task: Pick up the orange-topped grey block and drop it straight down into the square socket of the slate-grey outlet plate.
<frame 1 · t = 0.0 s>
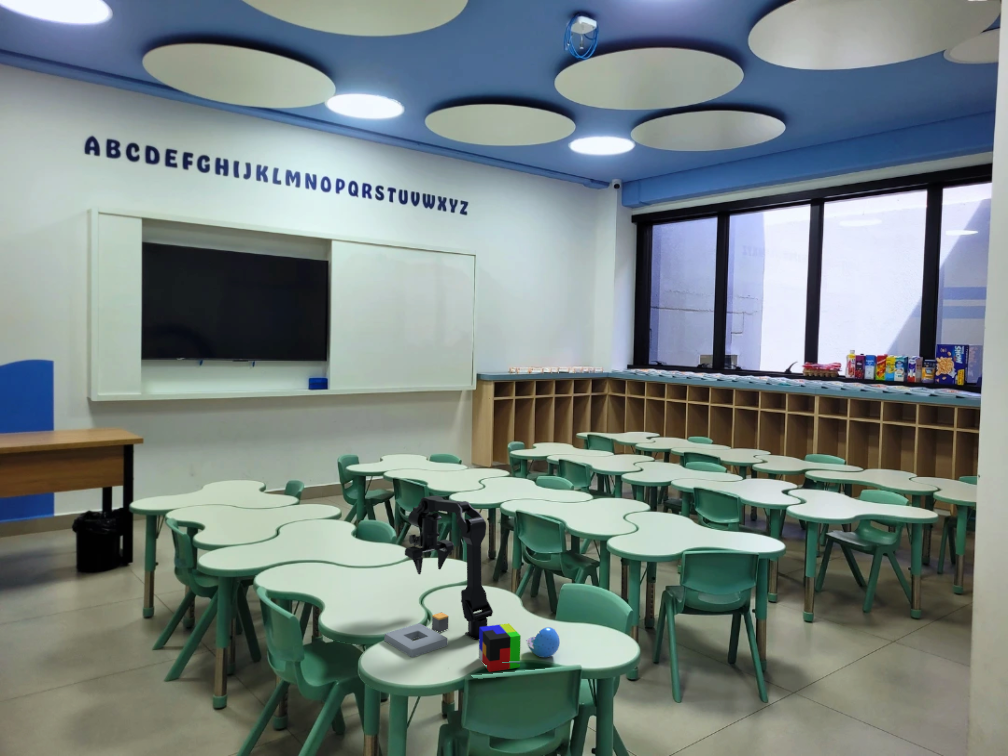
hand: (429, 571, 260), 15 cm above the table, tool pointing down, fingers open, 9 cm apart
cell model: (542, 656, 225), on the table
outlet plate: (415, 643, 232), on the table
puzzle toy: (499, 663, 219), on the table
orange-topped grey block: (440, 629, 244), on the table
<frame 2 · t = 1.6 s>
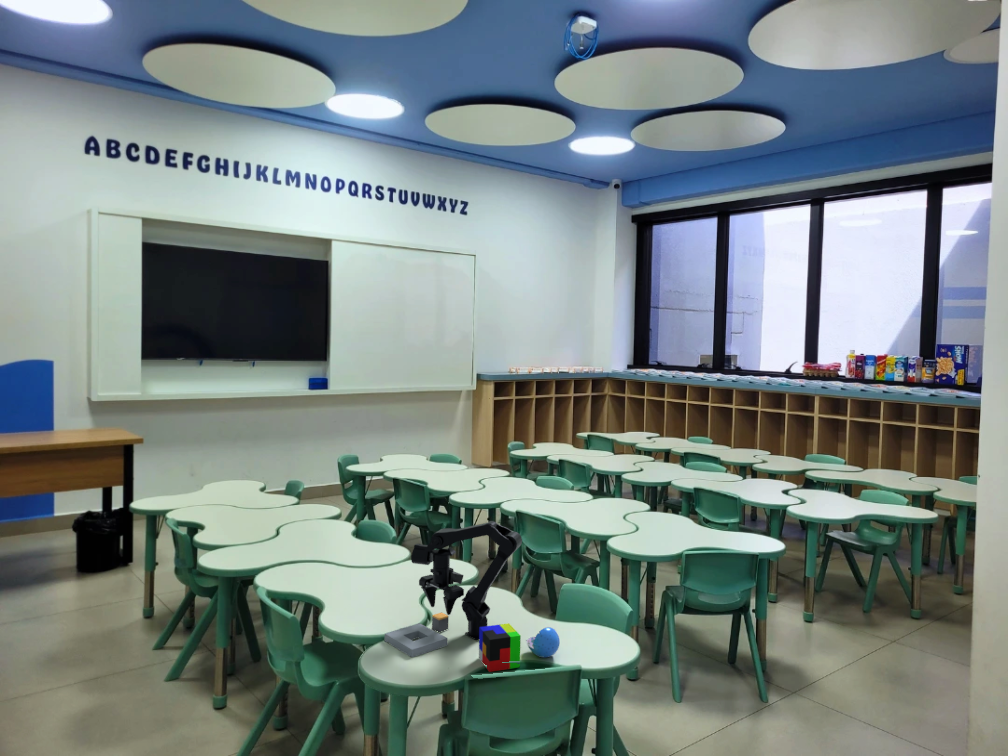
hand: (440, 610, 243), 7 cm above the table, tool pointing down, fingers open, 9 cm apart
nothing on the table moved.
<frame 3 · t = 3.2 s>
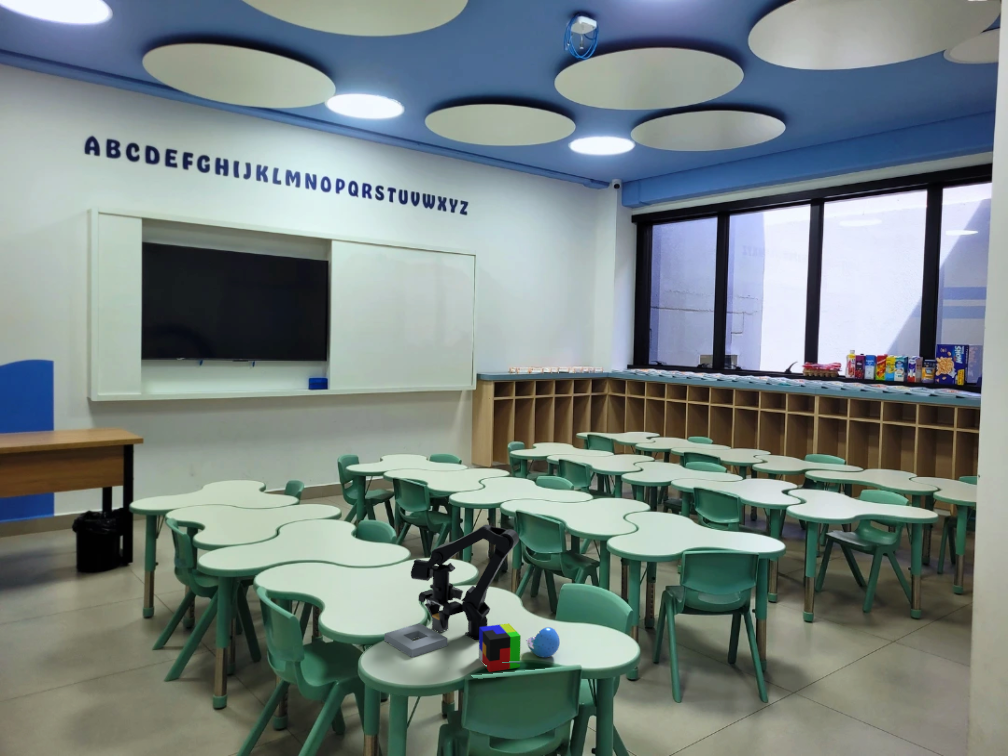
hand: (440, 626, 243), 1 cm above the table, tool pointing down, fingers closed on orange-topped grey block, 4 cm apart
orange-topped grey block: (440, 629, 244), on the table, touching gripper
everything else where it was.
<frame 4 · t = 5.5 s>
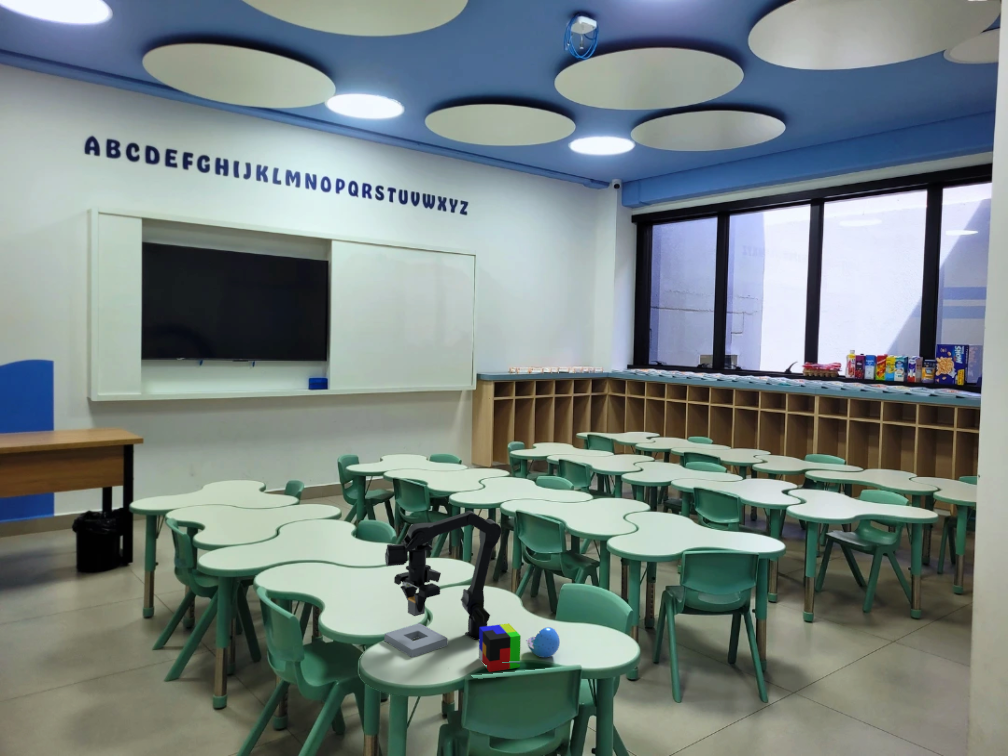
hand: (416, 610, 232), 11 cm above the table, tool pointing down, fingers closed on orange-topped grey block, 4 cm apart
orange-topped grey block: (416, 613, 232), point 10 cm above the table, touching gripper
everything else where it was.
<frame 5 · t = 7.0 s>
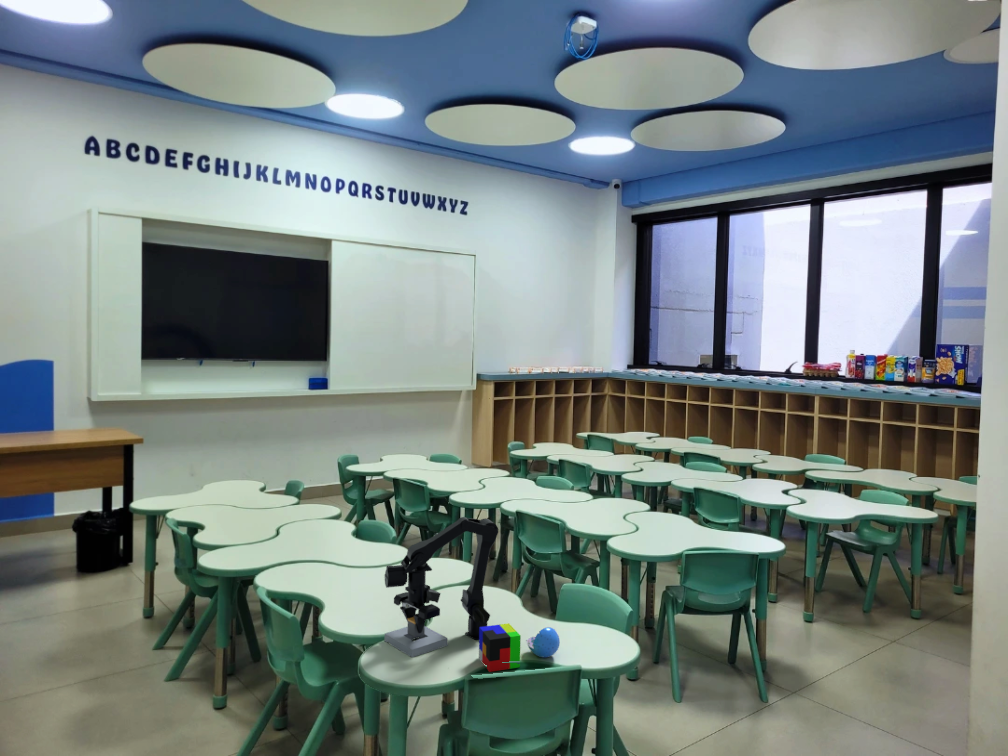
hand: (416, 630, 232), 4 cm above the table, tool pointing down, fingers closed on orange-topped grey block, 4 cm apart
orange-topped grey block: (416, 633, 232), point 3 cm above the table, touching gripper
everything else where it was.
when the fingers open (3 cm above the table, at t = 7.9 s): orange-topped grey block drops 3 cm, resting in outlet plate.
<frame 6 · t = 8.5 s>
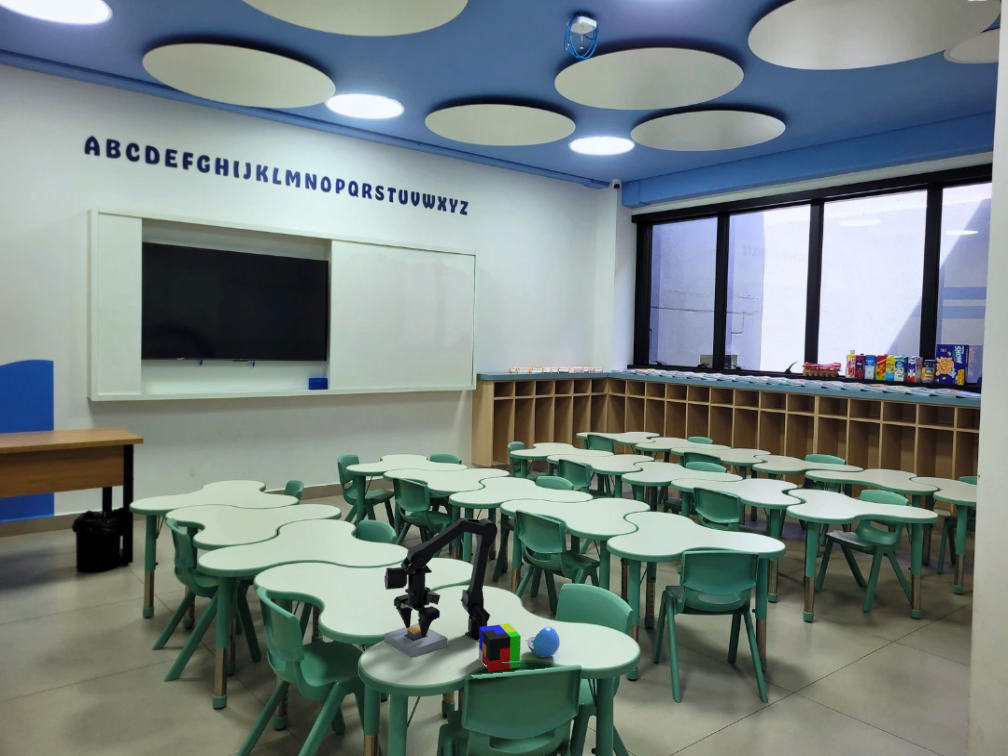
hand: (416, 632, 232), 3 cm above the table, tool pointing down, fingers open, 9 cm apart
orange-topped grey block: (415, 643, 232), resting in outlet plate
everything else where it was.
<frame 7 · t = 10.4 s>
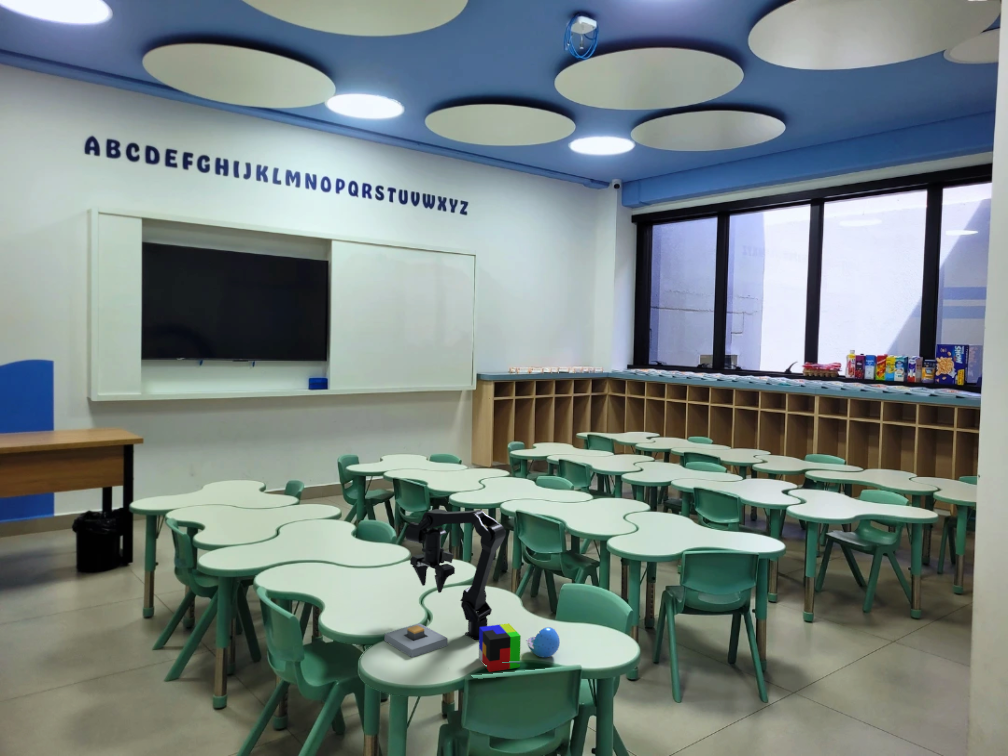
hand: (431, 588, 249), 12 cm above the table, tool pointing down, fingers open, 9 cm apart
nothing on the table moved.
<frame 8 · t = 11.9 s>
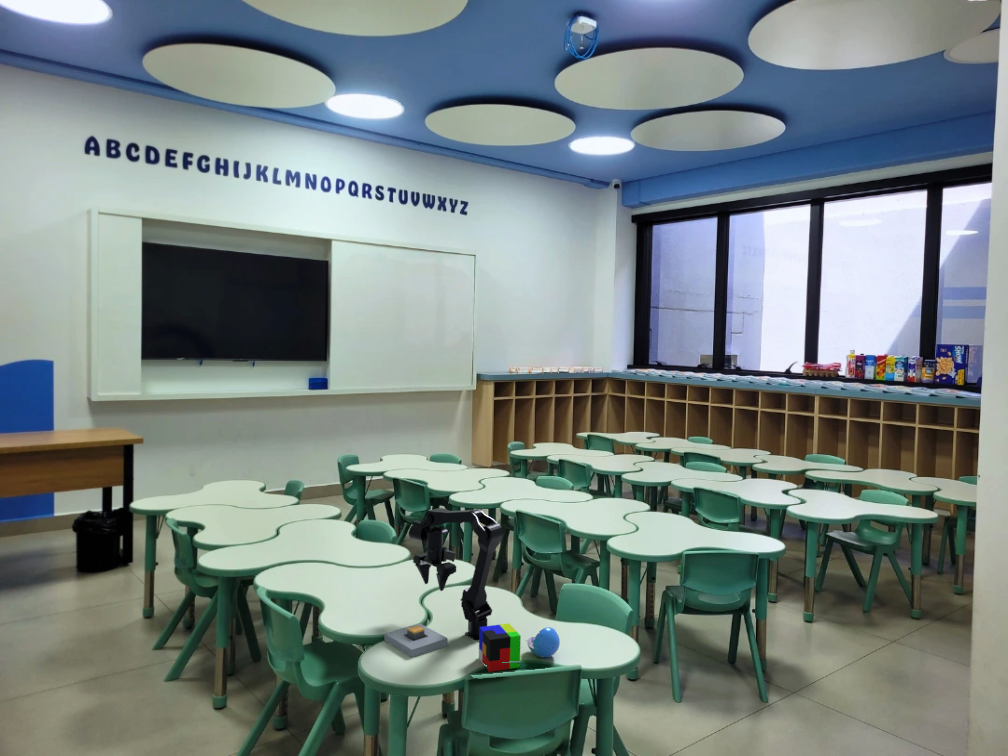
hand: (434, 587, 251), 12 cm above the table, tool pointing down, fingers open, 9 cm apart
nothing on the table moved.
at the end: orange-topped grey block 0.0 cm off-centre on the outlet plate, point 0.0 cm above the outlet plate's base; orange-topped grey block tilted 0°; the gripper is holding nothing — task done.
